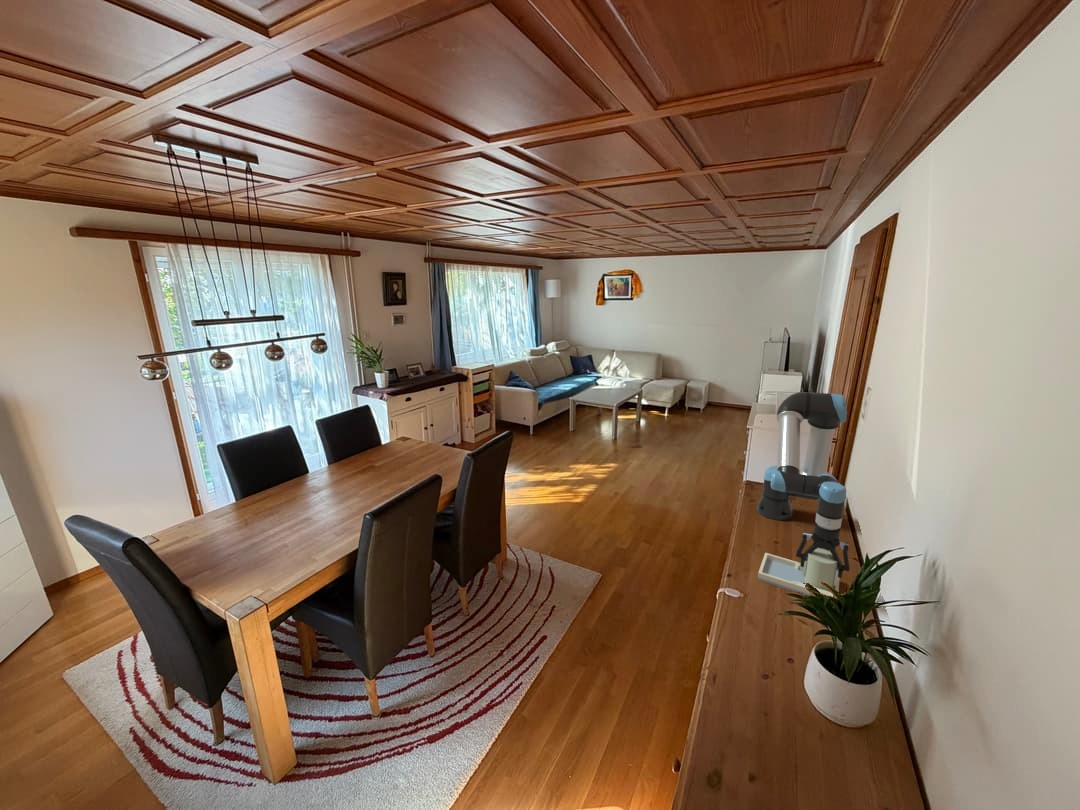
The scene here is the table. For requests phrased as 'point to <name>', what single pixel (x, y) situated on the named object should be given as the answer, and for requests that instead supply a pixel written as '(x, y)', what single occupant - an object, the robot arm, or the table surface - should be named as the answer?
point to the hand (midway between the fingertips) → (819, 578)
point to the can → (820, 569)
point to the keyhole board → (786, 574)
